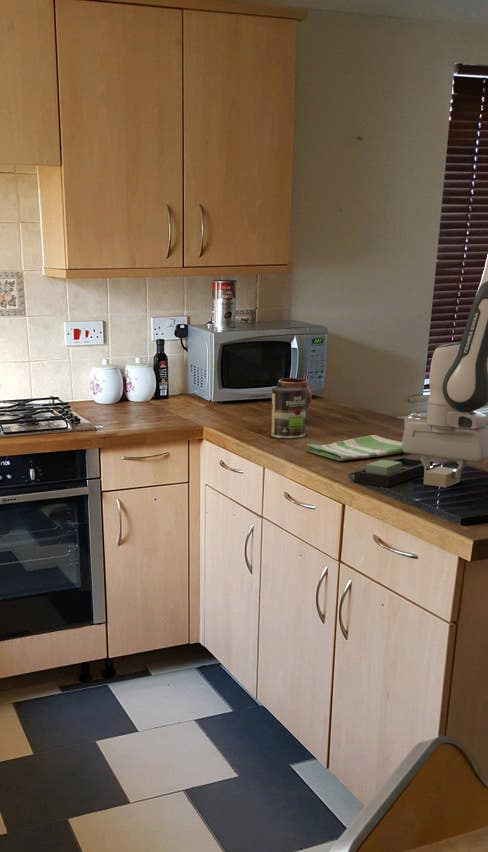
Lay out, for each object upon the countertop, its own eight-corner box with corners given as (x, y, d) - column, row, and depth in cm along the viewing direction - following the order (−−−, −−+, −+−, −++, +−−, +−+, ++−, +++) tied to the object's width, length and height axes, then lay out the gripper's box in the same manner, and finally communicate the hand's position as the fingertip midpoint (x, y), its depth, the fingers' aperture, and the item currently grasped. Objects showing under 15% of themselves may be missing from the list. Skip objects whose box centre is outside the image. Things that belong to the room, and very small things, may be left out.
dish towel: (304, 451, 242) (305, 441, 241) (375, 443, 250) (375, 433, 249) (341, 463, 226) (341, 452, 225) (415, 453, 234) (416, 443, 233)
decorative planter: (320, 426, 279) (321, 382, 274) (283, 428, 277) (284, 384, 272) (300, 416, 297) (301, 375, 293) (265, 418, 296) (265, 377, 291)
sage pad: (401, 474, 207) (402, 462, 206) (386, 480, 202) (386, 467, 201) (380, 471, 211) (381, 459, 210) (365, 477, 206) (365, 464, 205)
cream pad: (459, 482, 203) (460, 469, 202) (445, 487, 198) (446, 474, 197) (437, 478, 207) (438, 466, 206) (423, 484, 202) (424, 471, 201)
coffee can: (311, 436, 263) (313, 388, 258) (282, 439, 259) (283, 391, 254) (293, 431, 272) (294, 385, 267) (264, 434, 268) (265, 387, 263)
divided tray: (432, 471, 214) (433, 461, 213) (388, 487, 200) (388, 476, 199) (399, 466, 220) (400, 456, 219) (354, 482, 206) (354, 471, 205)
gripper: (398, 413, 202) (394, 472, 207) (483, 422, 189) (478, 484, 193) (412, 410, 206) (408, 468, 211) (496, 418, 193) (490, 479, 197)
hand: (442, 476), depth 202 cm, fingers closed on cream pad, 5 cm apart
